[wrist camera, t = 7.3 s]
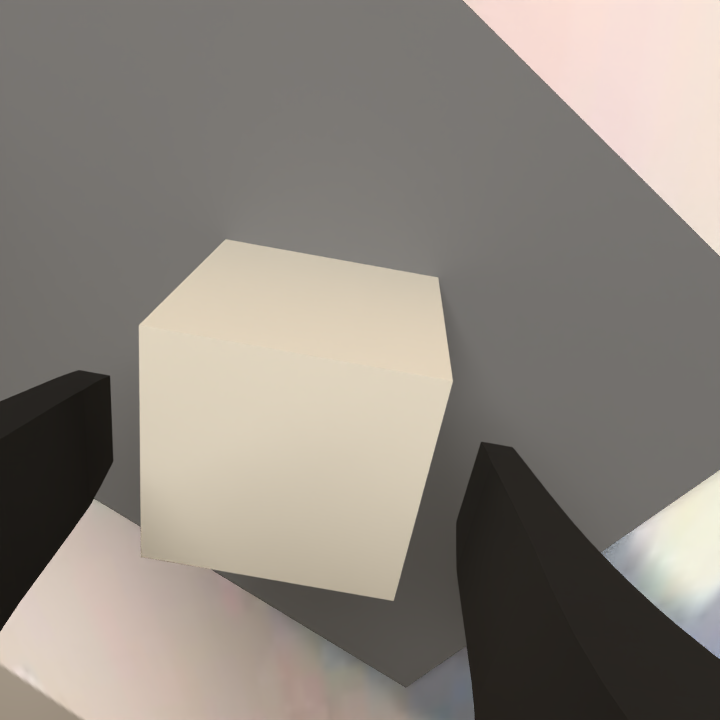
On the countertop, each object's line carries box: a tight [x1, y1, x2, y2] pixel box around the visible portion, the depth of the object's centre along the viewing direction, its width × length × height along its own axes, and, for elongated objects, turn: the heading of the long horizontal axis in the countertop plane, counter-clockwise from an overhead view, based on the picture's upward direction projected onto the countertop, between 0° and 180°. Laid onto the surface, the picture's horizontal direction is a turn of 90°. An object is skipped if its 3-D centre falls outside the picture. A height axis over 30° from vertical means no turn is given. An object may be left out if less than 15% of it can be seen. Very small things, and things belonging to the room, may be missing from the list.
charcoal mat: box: [0, 0, 720, 687], centre depth 15 cm, size 20×16×1 cm
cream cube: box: [139, 239, 453, 601], centre depth 13 cm, size 5×5×5 cm
